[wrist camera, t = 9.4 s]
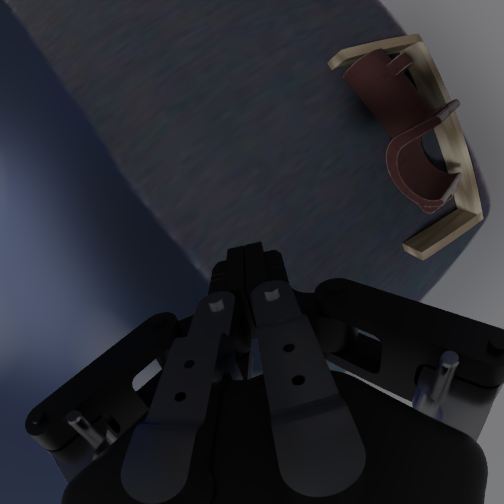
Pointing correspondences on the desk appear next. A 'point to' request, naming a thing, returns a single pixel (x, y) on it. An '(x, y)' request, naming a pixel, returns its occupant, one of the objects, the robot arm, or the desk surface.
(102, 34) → the desk surface
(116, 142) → the desk surface
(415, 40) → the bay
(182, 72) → the desk surface
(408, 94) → the bracket
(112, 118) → the desk surface
